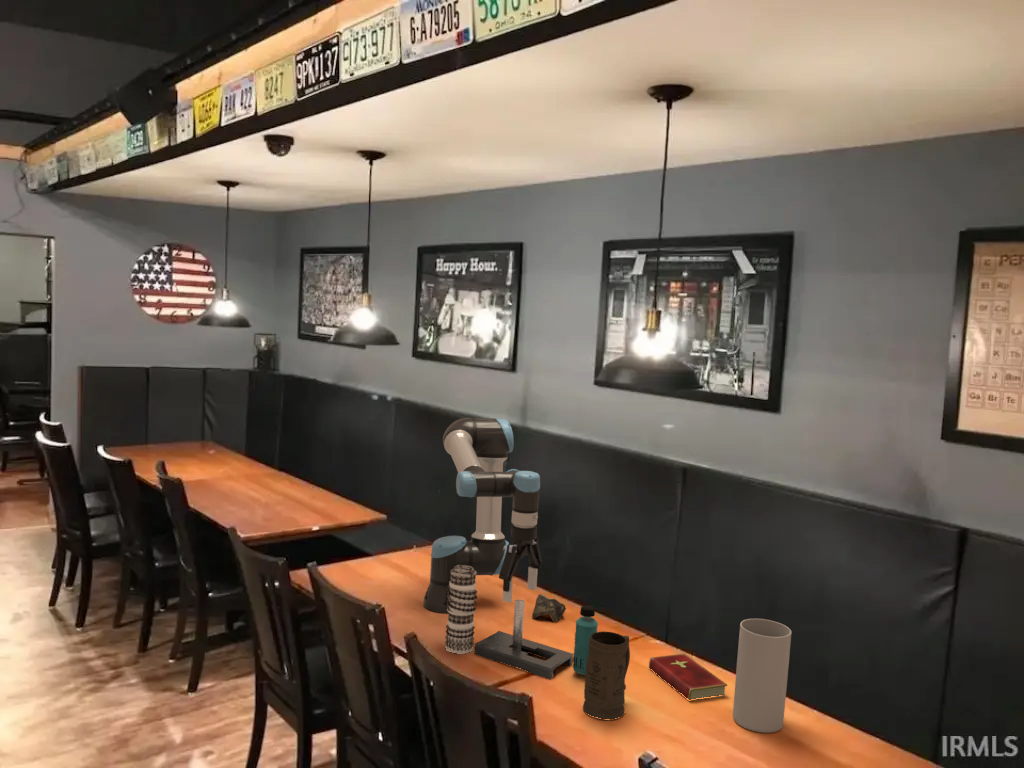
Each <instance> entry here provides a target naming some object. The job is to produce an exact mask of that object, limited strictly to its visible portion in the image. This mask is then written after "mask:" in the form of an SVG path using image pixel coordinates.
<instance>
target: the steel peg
mask: <svg viewBox="0 0 1024 768" xmlns="http://www.w3.org/2000/svg"><path fill="white" fill-rule="evenodd" d="M513 613H514V614H513V630H512V635H513V643H512V647H511V648H513V649H516V650H520V651H522V638H523V635H524V634H523V632H524V616H525V615H524V614H525V600H523V599H516V600H514V612H513ZM523 652H525V651H523Z"/></svg>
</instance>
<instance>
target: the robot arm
mask: <svg viewBox="0 0 1024 768" xmlns="http://www.w3.org/2000/svg"><path fill="white" fill-rule="evenodd" d="M514 443H515V442H514V432H513V429H512V426H511V424H510V421H508V420H507V419H504V418H497V417H495V418H490V417H487V418H486V417H483V418H481V417H480V418H479V417H463V418H460V419H457V420H455V421H453V422H452V423H451V424H449V426H448V427H447V428H446V430H445V432H444V433H443V436H442V445H443V447H444V450H445V451H446V452H447V454H449V455H450V456H451V459H452V461H453V462H454V466H455V468H456V471H457V475H456V481H455V489H456V494H457V495H458V496H459V497H463V498H464V497H466V498H467V497H468V498H476V518H475V519H476V521H475V522H476V524H475V532H473V533H472V534H471V540H467V539H466V537H465V536H461V535H447V536H443V537H442V536H441V537H439V538H437V539H435V540H434V541H433V542H432V545H431V552H430V575H429V576H430V577H429V583H428V586H427V589H426V592H425V595H424V597H423V607H424V608H425V609H427V610H429V611H432V612H435V613H444V614H448V613H449V612H448V611H447V607H448V605H447V600H448V598H447V596H448V591H447V589H448V587H447V585H448V584H449V583H450V576H451V573H450V571H451V570H452V569H453V568H454V567H455V566H457V565H469V566H471V567H473V569H474V570H475V571H476V572H477V574H476V576H491V577H493V576H498V579H500V580H503V583H502V601H503V602H505V603H509V604H510V603H512V602H513V588H514V587H513V586H514V580H513V577H514V575H515V571H516V569H517V567H518V565H519V563H520V561H522V560H523V558H526V560H527V561H528V564H529V566H528V571H527V572H528V573H527V576H528V577H527V587H526V589H528V590H532V591H536V590H537V583H538V569H539V570H540V569H541V568H542V564H543V559H542V554H541V549H540V545H539V537H538V536H537V535H538V534H537V533H538V532H537V531H538V530H537V529H538V527H537V525H538V518H539V514H538V512H539V500H540V489H541V476H540V474H539V473H538V472H534V471H532V470H519V469H516V468H511V469H508V470H507V471H504V462H505V461H506V460H507V459H508V456H509V454H510V453H512V452H513V450H514V445H515V444H514ZM510 497H511V498H512V511H511V521H510V522H511V526H510V528H511V529H510V537H511V539H512V540H513V544H510V543H509V541H507V540H506V539H505V538H506V536H505V535H504V533H503V532H502V505H503V503H502V502H503V501H502V499H503V498H510ZM449 591H450V590H449ZM449 598H450V597H449ZM449 602H450V601H449Z"/></svg>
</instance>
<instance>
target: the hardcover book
mask: <svg viewBox="0 0 1024 768" xmlns="http://www.w3.org/2000/svg"><path fill="white" fill-rule="evenodd" d="M648 661H649V662H648V664H649V665H648V669H649V668H650V669H652V670H653V671H654V672H655V673H657V674H658V675H659V676H660V677H661V678H662V679H664V680H665V681H666V682H667V683H669V684H670V685H671V686H673V687H674V688H675V689H676V690H678V691H679V692H680V693H682V694H683V695H684V696H685V697H686V698H688V699H689V700H691V699H696V698H702V697H703V698H704V697H711V696H719V695H724V696H725V693H726V691H725V690H726V687H728V683H726V682H724V681H723V680H722V679H721V678H719V677H718V676H716V674H713V673H712V672H711V671H709V670H708V669H706V668H705V667H704V666H702V665H701V664H700V663H698V662H697V661H696V660H694V659H693V658H691V657H690V656H689V655H687V654H686V653H678V654H670V655H669V654H668V655H661V656H660V655H659V656H653V657H652V656H651V657H650V658H649V660H648ZM650 669H649V670H650ZM654 672H653V673H654ZM655 673H654V674H655ZM660 677H659V678H660ZM661 678H660V679H661ZM662 679H661V680H662ZM665 681H664V682H665ZM666 682H665V683H666ZM667 683H666V684H667ZM671 686H670V687H671ZM676 690H675V691H676Z"/></svg>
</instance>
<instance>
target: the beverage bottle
mask: <svg viewBox="0 0 1024 768" xmlns="http://www.w3.org/2000/svg"><path fill="white" fill-rule="evenodd" d="M580 607H581V608H580V612H579V614H580V616H581V617H579V618H577V620H576V621H575V633H574V648H573V649H574V650H573V651H574V652H573V664H572V669H573V672H575V673H576V674H578V675H583V676H586V664H587V659H588V651H589V640H590V636H591V634H593V633H595V632H598V626H599V622H598V621H597V620H596V619H595V618H594V617H595V615H596V614H595V613H596V612H595V609H596V608H595V607H594V606H593V605H587V604H586V605H582V606H580Z"/></svg>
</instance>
